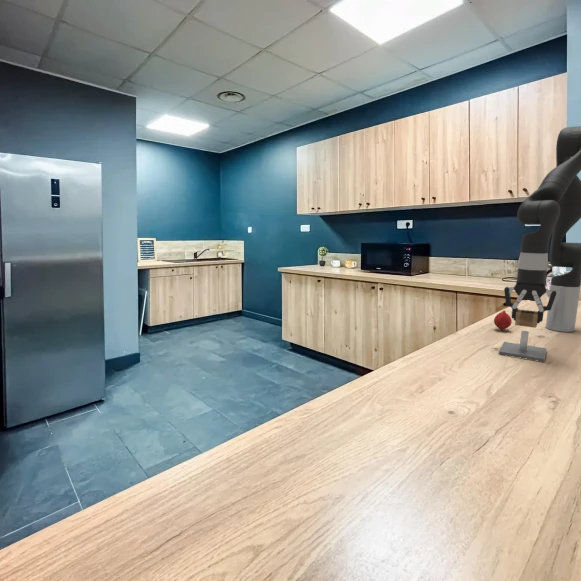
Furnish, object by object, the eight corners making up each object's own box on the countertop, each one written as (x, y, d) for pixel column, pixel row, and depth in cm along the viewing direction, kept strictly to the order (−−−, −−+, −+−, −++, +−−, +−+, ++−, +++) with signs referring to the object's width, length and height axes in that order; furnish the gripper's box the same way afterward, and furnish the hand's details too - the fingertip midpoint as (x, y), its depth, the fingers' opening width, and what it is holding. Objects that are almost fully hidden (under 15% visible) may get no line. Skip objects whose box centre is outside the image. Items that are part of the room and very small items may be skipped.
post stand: (503, 344, 129) (505, 324, 127) (546, 351, 122) (548, 330, 121) (498, 354, 119) (500, 332, 118) (544, 362, 112) (547, 339, 111)
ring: (516, 321, 123) (518, 309, 122) (537, 323, 119) (538, 311, 119) (514, 325, 118) (516, 312, 117) (536, 327, 115) (537, 315, 114)
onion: (489, 329, 147) (491, 309, 146) (499, 327, 149) (501, 307, 148) (503, 333, 142) (505, 312, 140) (513, 331, 144) (516, 310, 143)
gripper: (561, 268, 114) (554, 322, 117) (507, 265, 123) (502, 316, 126) (560, 270, 108) (553, 327, 111) (503, 267, 117) (498, 320, 120)
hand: (526, 321), depth 119 cm, fingers closed on ring, 5 cm apart
